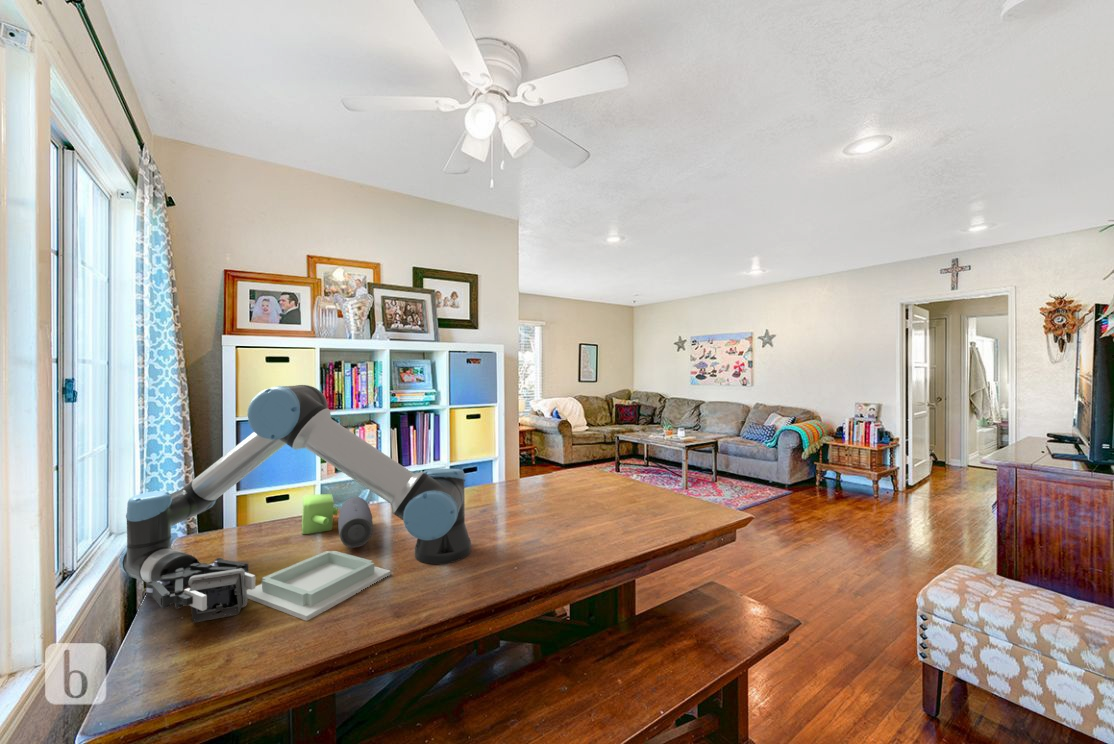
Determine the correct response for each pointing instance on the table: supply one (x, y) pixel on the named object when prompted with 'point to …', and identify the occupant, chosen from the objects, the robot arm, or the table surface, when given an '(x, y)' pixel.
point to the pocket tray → (316, 584)
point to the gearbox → (317, 513)
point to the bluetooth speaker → (355, 522)
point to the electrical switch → (219, 593)
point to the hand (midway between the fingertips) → (230, 592)
